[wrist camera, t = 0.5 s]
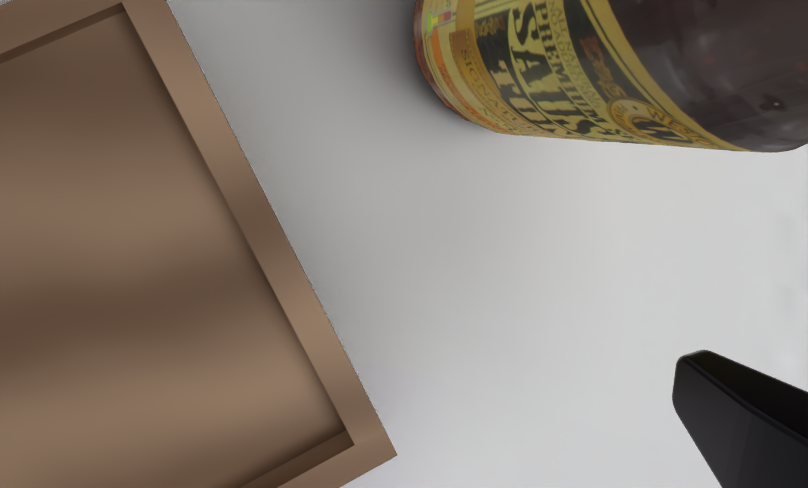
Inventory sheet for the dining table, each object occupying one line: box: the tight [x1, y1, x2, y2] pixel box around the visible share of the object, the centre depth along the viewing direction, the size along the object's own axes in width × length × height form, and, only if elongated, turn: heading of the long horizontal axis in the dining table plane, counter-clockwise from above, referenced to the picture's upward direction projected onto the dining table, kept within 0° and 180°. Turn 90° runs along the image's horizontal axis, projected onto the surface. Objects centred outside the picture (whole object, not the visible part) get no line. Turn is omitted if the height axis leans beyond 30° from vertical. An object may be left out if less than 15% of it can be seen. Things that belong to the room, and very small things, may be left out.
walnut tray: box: [0, 0, 397, 488], centre depth 20 cm, size 16×16×2 cm
